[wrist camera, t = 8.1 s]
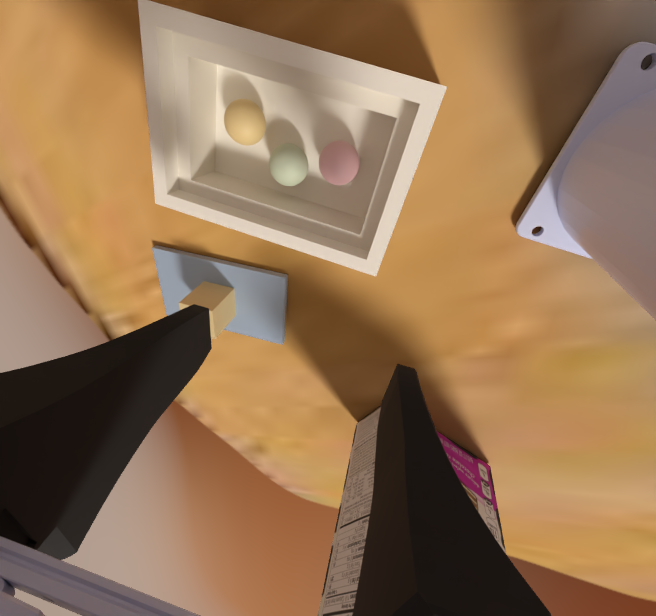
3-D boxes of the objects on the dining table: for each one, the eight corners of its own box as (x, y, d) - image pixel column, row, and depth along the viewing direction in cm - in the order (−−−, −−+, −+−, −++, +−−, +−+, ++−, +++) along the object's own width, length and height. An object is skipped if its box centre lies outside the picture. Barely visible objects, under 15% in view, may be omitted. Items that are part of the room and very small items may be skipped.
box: (441, 87, 15) (446, 86, 11) (383, 245, 19) (375, 276, 16) (197, 17, 15) (137, -3, 12) (198, 185, 20) (155, 203, 17)
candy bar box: (494, 462, 27) (561, 809, 14) (450, 482, 30) (473, 785, 17) (389, 394, 26) (354, 709, 13) (353, 421, 29) (295, 701, 16)
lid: (290, 271, 23) (268, 301, 19) (286, 336, 26) (267, 371, 23) (161, 242, 24) (120, 266, 21) (174, 308, 27) (140, 337, 24)
